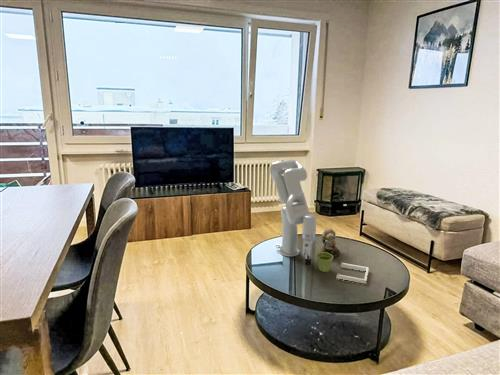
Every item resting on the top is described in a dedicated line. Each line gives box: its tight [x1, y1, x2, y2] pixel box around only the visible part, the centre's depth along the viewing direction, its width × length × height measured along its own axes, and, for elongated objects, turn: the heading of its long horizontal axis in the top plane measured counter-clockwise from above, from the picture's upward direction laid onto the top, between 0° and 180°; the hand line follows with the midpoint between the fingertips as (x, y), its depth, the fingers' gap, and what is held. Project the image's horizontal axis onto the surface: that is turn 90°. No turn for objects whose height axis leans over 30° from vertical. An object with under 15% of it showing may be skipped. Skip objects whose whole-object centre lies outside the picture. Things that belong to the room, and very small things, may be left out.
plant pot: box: [316, 252, 334, 273], centre depth 194 cm, size 9×9×9 cm
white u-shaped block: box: [336, 261, 370, 284], centre depth 189 cm, size 15×15×3 cm
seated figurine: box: [319, 227, 340, 259], centre depth 214 cm, size 18×12×17 cm, turn 168°
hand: (307, 264), depth 199 cm, fingers closed
